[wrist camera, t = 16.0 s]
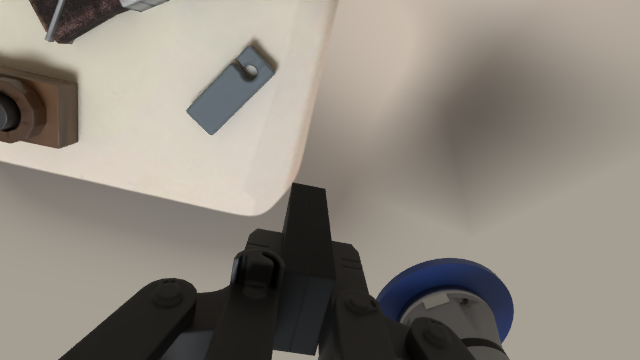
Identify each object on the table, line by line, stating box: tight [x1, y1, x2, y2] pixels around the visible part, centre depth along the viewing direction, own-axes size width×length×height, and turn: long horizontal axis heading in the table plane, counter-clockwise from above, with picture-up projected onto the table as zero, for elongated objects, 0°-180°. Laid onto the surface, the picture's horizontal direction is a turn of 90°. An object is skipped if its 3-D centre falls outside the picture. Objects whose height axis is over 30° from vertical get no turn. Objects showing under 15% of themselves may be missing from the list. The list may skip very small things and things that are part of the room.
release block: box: [0, 66, 78, 149], centre depth 36 cm, size 9×7×5 cm
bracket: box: [186, 46, 275, 135], centre depth 38 cm, size 4×10×2 cm, turn 132°
